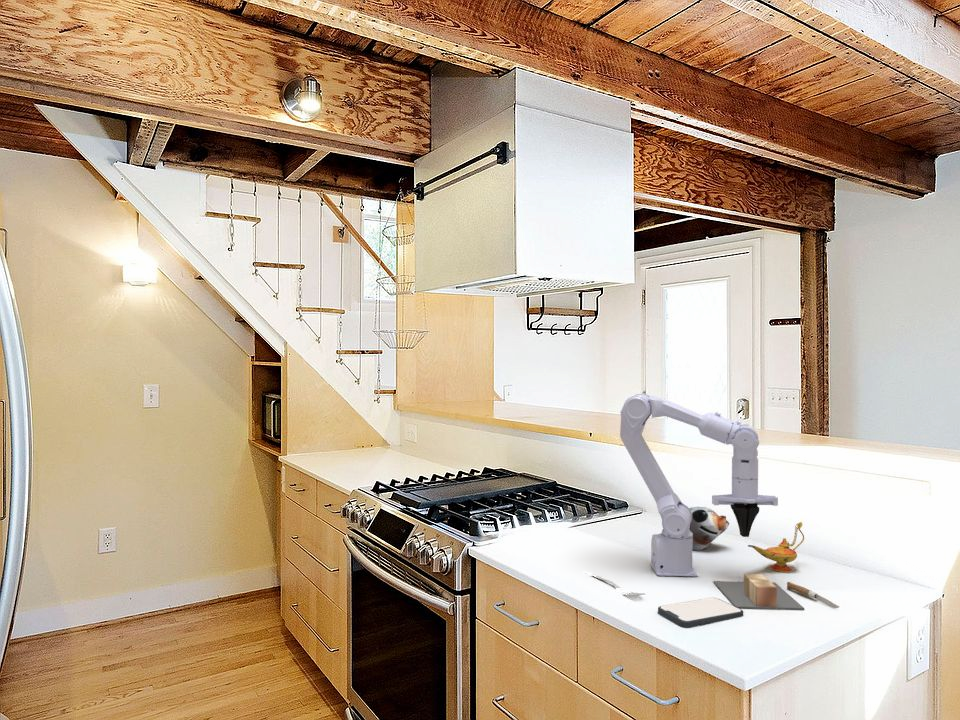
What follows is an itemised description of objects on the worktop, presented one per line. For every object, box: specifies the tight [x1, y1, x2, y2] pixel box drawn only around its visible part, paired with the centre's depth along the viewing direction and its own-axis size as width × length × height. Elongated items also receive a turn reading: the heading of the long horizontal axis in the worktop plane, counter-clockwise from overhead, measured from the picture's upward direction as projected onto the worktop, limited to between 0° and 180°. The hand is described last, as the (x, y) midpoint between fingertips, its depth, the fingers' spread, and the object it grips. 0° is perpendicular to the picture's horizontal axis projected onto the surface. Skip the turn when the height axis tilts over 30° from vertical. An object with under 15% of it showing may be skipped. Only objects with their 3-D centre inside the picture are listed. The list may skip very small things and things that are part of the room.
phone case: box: [657, 597, 744, 629], centre depth 136 cm, size 9×2×16 cm
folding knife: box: [786, 581, 840, 609], centre depth 145 cm, size 14×2×2 cm, turn 22°
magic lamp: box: [747, 521, 805, 573], centre depth 164 cm, size 7×18×11 cm, turn 112°
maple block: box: [742, 573, 777, 607], centre depth 143 cm, size 4×4×8 cm
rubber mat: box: [712, 580, 805, 611], centre depth 146 cm, size 14×15×1 cm
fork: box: [595, 575, 646, 597], centre depth 154 cm, size 3×24×2 cm, turn 27°
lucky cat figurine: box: [688, 506, 730, 552], centre depth 182 cm, size 15×12×14 cm
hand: (744, 535), depth 156 cm, fingers closed
